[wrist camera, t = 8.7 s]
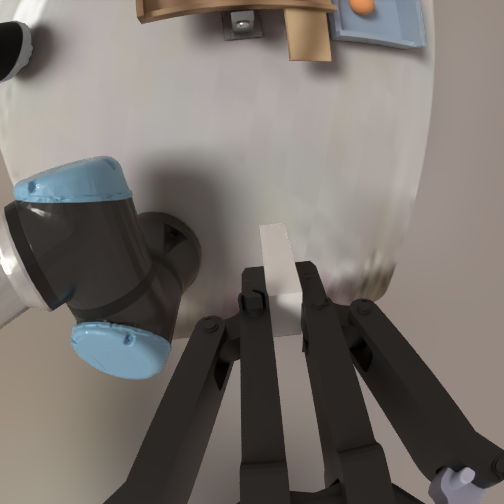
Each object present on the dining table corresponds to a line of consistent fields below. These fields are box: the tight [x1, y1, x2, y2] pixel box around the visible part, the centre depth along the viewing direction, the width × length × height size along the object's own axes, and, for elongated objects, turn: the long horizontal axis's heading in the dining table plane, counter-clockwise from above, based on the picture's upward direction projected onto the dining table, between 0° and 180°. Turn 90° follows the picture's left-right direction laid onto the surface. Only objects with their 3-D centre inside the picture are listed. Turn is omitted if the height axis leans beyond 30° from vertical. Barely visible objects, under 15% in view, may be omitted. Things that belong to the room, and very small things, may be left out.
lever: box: [136, 0, 337, 62], centre depth 21 cm, size 22×13×3 cm, turn 96°
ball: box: [349, 0, 375, 15], centre depth 24 cm, size 4×4×4 cm
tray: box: [328, 0, 426, 50], centre depth 23 cm, size 12×12×6 cm
